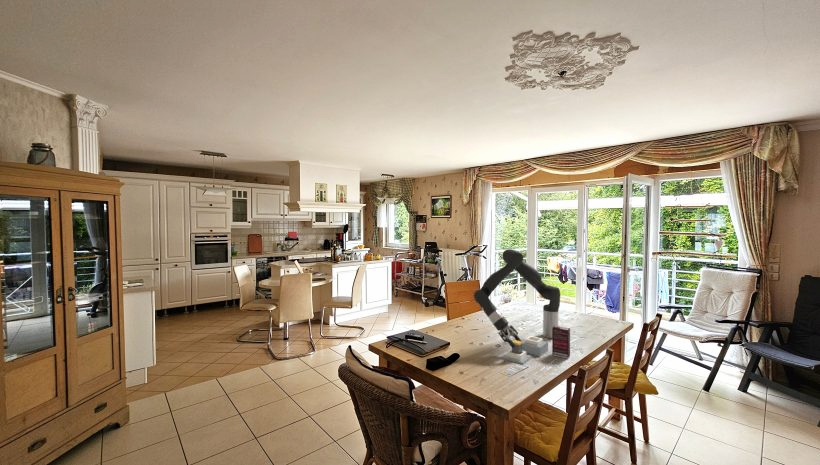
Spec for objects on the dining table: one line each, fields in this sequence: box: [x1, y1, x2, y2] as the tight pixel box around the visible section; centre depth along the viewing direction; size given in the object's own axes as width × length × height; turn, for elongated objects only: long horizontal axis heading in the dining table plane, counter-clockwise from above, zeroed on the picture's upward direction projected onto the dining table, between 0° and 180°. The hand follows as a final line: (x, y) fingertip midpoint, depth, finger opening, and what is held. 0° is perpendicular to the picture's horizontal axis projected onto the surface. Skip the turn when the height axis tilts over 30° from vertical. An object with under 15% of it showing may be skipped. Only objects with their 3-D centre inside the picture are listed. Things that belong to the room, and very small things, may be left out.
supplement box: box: [551, 325, 571, 359], centre depth 185 cm, size 9×5×16 cm, turn 53°
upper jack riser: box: [521, 335, 549, 357], centre depth 192 cm, size 12×12×7 cm
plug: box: [511, 340, 522, 354], centre depth 181 cm, size 4×4×8 cm
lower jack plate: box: [501, 348, 533, 365], centre depth 181 cm, size 12×12×4 cm
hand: (517, 344), depth 181 cm, fingers open, 8 cm apart
